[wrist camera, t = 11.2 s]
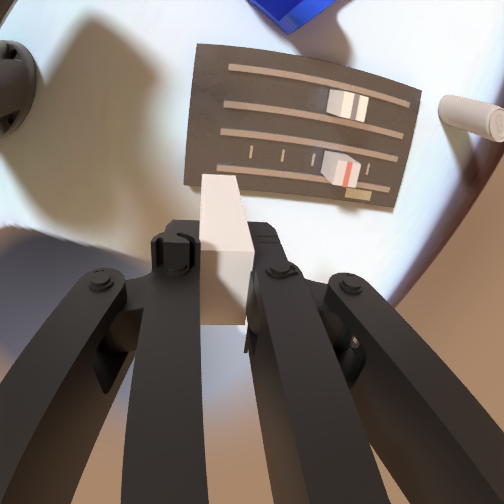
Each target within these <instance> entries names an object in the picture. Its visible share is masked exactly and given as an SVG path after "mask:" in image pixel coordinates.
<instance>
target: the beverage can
mask: <svg viewBox="0 0 504 504" xmlns="http://www.w3.org/2000/svg"><path fill="white" fill-rule="evenodd" d="M439 115H440V118H441V119H442V121H443V122H444V123H446V124H448V125H451V126H454V127H457V128H460V129H463V130H466V131H468V132H471V133H474V134H477V135H479V136H482V137H484V138H487V139H489V140H492V141H495V142H503V141H504V109H503V108H501V107H499V106H496V105H492V104H488V103H484V102H480V101H476V100H472V99H467V98H463V97H458V96H453V95H445V96H444V97H443V98H442V99H441V100H440V103H439Z"/></svg>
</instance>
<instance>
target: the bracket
mask: <svg viewBox="0 0 504 504" xmlns="http://www.w3.org/2000/svg"><path fill="white" fill-rule="evenodd" d="M249 1H250V2H251V3H252V4H253V5H255V6H256V7H257V8H258V9H259V10H261V11H262V12H263V13H264V14H265V15H266V16H268V17H269V18H270V19H271V20H272V21H273V22H274V23H276V24H277V25H278V26H279V27H280V28H281V29H282V30H283V31H284V32H285V33H286V34H288V35H289V34H290V33H292V32H293V31H295V30H297V29H298V28H300V27H301V26H303V25H304V24H305V23H307V22H308V21H309V20H311V19H312V18H313V17H315V16H316V15H317V14H319V13H320V12H321V11H323V10H324V9H325V8H326V7H328V6H329V5H330V4H332V3H333V2H334V1H335V0H249Z"/></svg>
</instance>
